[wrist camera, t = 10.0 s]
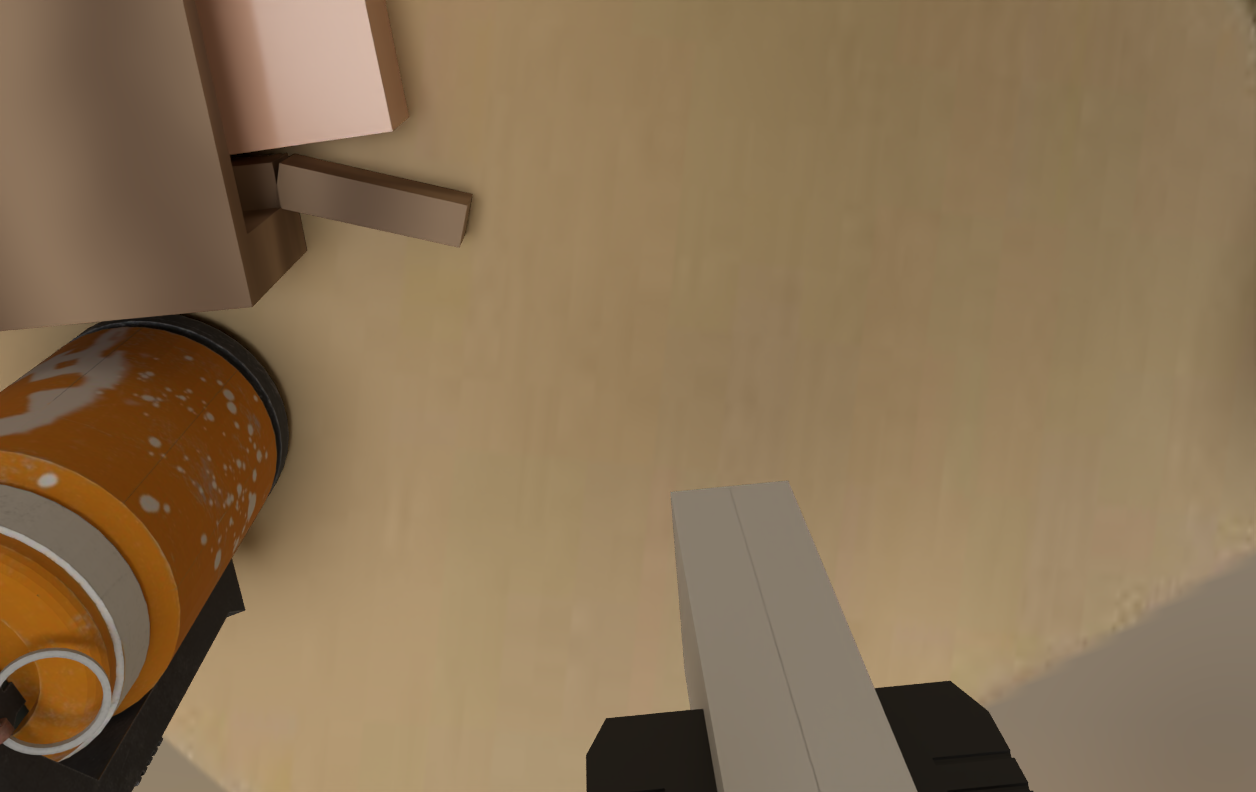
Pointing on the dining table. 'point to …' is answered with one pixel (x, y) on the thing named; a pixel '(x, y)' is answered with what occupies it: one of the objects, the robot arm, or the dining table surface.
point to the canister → (122, 539)
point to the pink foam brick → (301, 70)
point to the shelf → (154, 174)
